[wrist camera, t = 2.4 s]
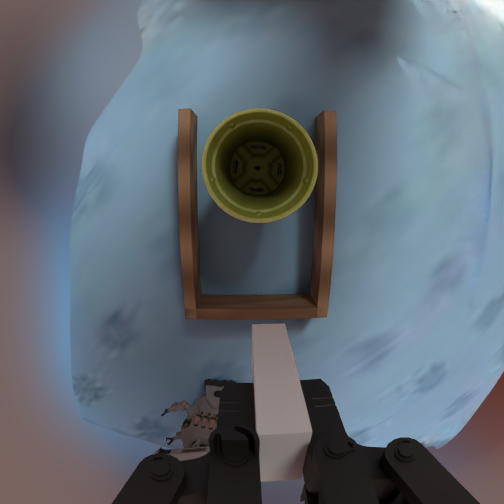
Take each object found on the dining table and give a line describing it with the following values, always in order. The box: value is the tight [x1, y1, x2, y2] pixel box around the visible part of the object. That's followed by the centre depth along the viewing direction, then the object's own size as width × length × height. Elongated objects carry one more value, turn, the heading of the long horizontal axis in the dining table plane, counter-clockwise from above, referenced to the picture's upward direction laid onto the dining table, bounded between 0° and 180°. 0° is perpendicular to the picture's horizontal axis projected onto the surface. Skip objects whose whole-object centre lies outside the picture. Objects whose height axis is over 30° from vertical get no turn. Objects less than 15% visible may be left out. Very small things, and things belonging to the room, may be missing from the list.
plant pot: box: [201, 108, 318, 223], centre depth 27 cm, size 9×9×9 cm
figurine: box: [155, 379, 236, 461], centre depth 31 cm, size 9×12×15 cm
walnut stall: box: [178, 108, 337, 319], centre depth 30 cm, size 22×15×4 cm
